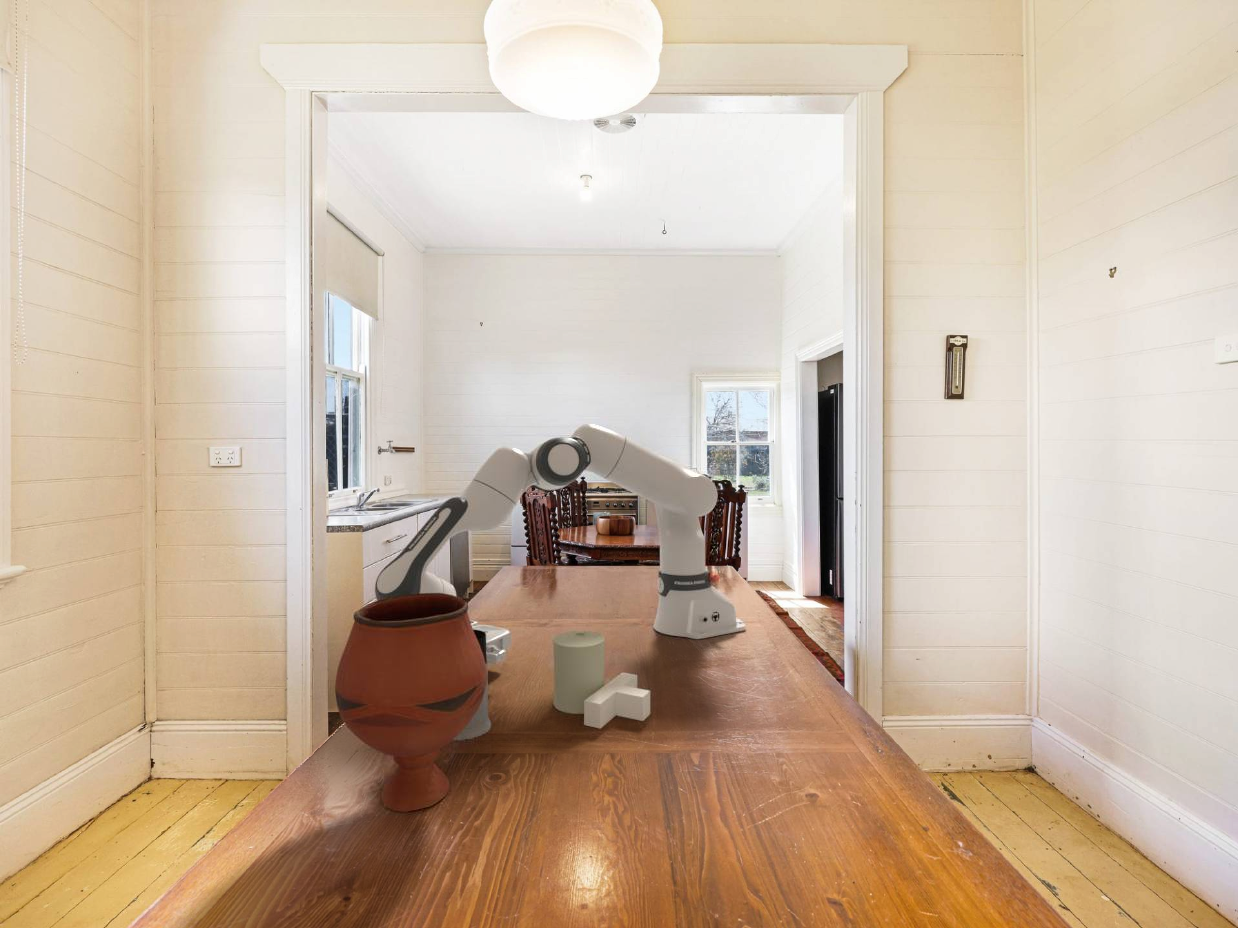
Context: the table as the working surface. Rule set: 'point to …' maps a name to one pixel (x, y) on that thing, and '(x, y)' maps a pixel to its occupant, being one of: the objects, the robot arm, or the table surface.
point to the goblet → (411, 687)
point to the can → (577, 669)
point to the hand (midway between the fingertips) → (501, 657)
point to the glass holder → (480, 719)
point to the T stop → (617, 702)
